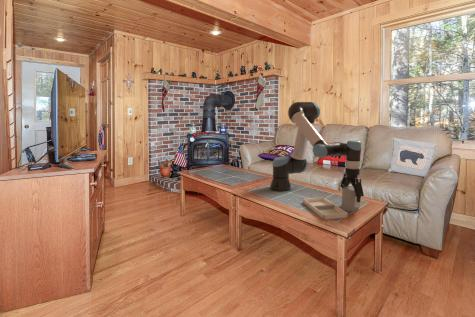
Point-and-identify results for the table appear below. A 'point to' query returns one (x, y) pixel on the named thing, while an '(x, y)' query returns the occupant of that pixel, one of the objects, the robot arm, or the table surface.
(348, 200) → the white speckled round cylinder
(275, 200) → the table surface
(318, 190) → the table surface
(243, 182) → the table surface
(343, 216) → the tray
